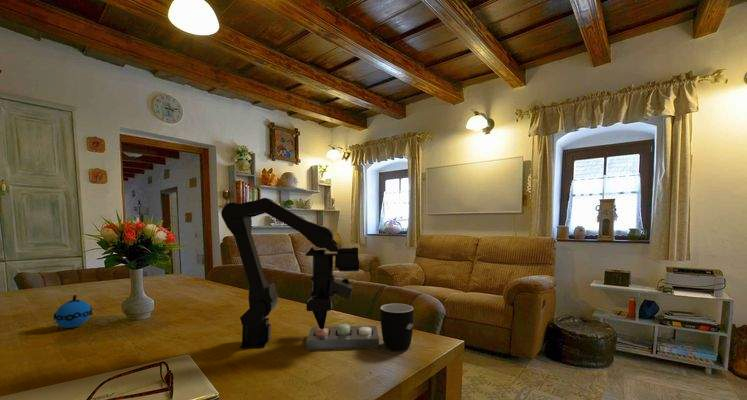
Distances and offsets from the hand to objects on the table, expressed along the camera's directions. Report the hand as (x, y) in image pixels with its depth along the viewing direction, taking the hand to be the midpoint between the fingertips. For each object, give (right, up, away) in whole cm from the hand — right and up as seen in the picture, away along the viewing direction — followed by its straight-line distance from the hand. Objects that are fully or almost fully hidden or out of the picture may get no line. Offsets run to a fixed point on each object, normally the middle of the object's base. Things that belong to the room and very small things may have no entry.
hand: (322, 328), depth 86 cm
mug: (+21, -4, -2) cm, 22 cm away
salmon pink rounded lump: (0, -3, 0) cm, 3 cm away
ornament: (-81, -5, +12) cm, 82 cm away
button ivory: (+12, -3, 0) cm, 12 cm away
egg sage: (+6, -2, 0) cm, 6 cm away
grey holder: (+6, -4, 0) cm, 7 cm away
